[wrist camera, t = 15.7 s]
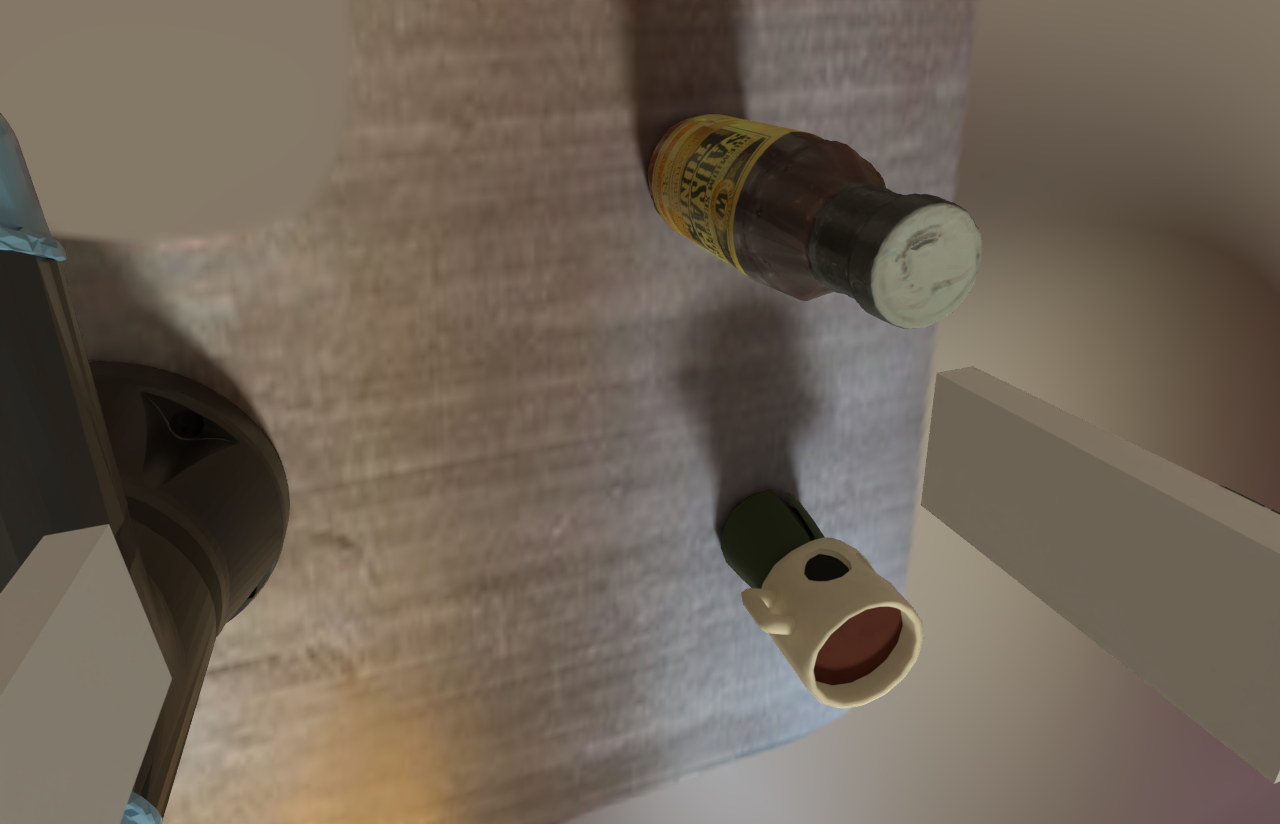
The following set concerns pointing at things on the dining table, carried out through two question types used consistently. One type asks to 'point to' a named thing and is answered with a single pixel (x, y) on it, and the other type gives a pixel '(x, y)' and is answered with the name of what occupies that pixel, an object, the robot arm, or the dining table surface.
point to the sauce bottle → (813, 218)
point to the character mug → (821, 603)
